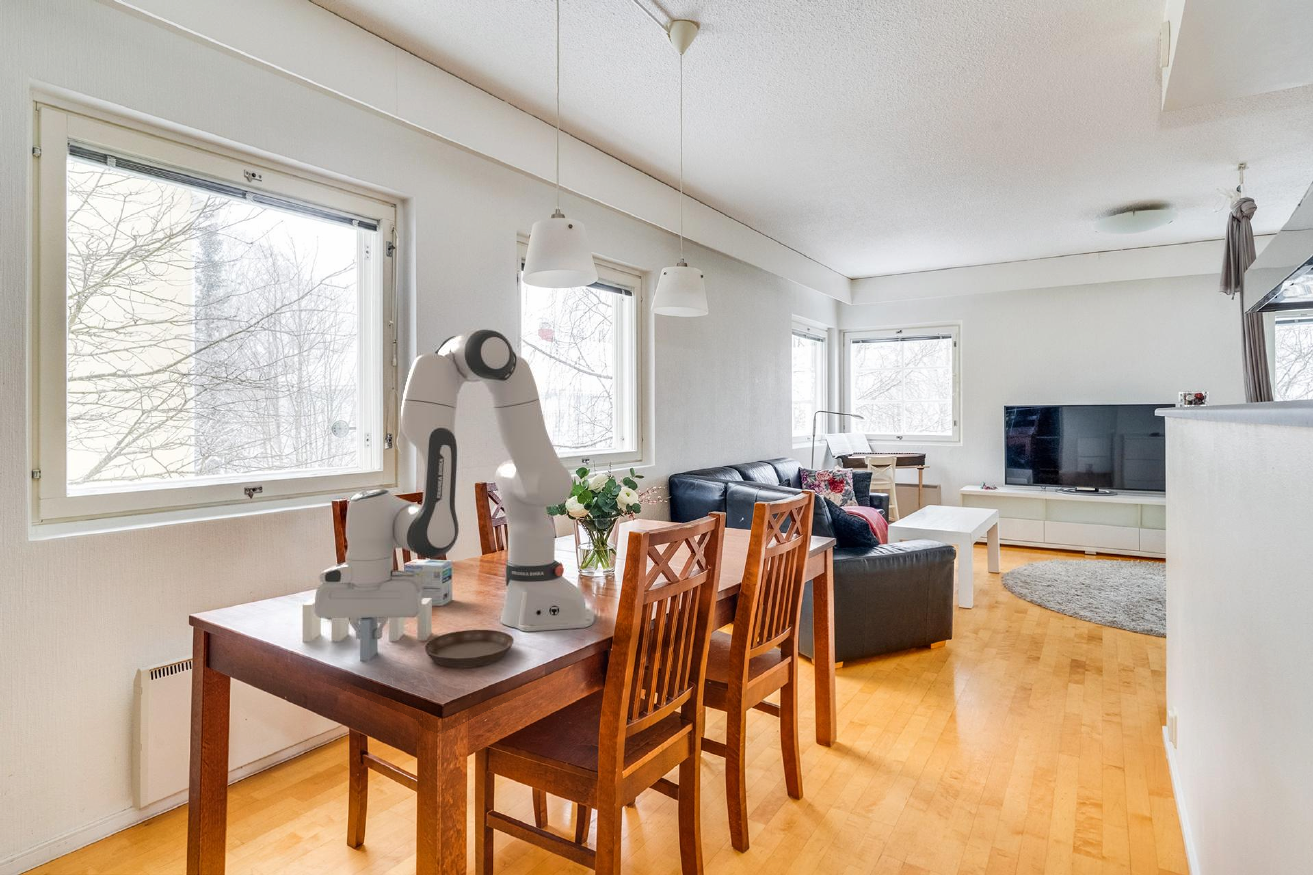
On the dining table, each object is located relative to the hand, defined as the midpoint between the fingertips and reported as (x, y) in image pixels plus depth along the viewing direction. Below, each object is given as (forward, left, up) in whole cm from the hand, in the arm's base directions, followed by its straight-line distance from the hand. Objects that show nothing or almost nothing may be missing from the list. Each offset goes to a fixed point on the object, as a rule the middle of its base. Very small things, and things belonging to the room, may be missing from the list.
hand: (369, 638), depth 137 cm
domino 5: (-8, -12, -4) cm, 15 cm away
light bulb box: (-2, -40, -4) cm, 40 cm away
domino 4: (-2, -12, -4) cm, 13 cm away
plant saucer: (-20, 0, -4) cm, 20 cm away
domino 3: (0, 0, -4) cm, 4 cm away
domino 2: (+10, -12, -4) cm, 16 cm away
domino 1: (+16, -12, -4) cm, 20 cm away
